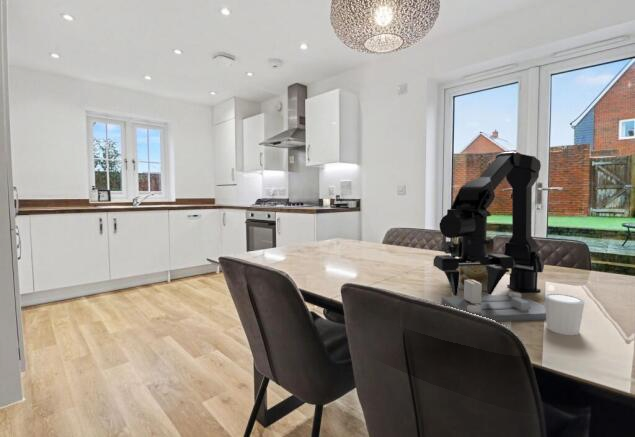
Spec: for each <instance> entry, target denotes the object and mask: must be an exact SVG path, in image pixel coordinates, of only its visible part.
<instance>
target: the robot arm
mask: <svg viewBox="0 0 635 437" xmlns="http://www.w3.org/2000/svg"><path fill="white" fill-rule="evenodd" d="M541 167H542V164H541V161H540V160H539V159H538V158H537V157H536V156H534V155H528V154H523V153H520V152H518V151H506V152H505V151H504V152H500V153H498V154H496V156H495V159H494V160H493V161H492V163H490V165H488V166H487V168H486V169H485V170H484V171H483V172H482V173H481V174H480V176H478V177H477V178H476V179H473V180H470V181H468V182H466V183H465V184H464V185H462V186H461V187H460V188H459V190H458V192H457V194H456V196H455V198H454V200H453V203H452V205H451V207H450V209H447V210H446V213H447V214H445V215H443V217H442V218H441V220H440V222H439V230H440V233H441V234H442V235H443V236H444V237H446V238H448V239H454V238H458V242H457V243H454V241H450V240H449V241H448V240H447V241H444V245H443V250H444V253H445V254H444V255H443V254H442V255H440V254H439V255H435V256H434V258H433V265H432V266H433V267H436V268H437V269H438V270H440V271H442V272H443V273H444V274H445V276H446V279H447V280H448V283H449V286H450V289H451V291H452V295H453V296H454V297H458V292H459V287H458V283H459V271H457V270H456V269H457V268H458V267H459V266H471V265H485V266H486V269H487V272H488V278H487V294H488V296H489V295H492V294H493V293H494V291H495V289H496V287H497V285H498V284H499V283H500V282H501V279H503V278H504V277H505V274H506V273H509V272H510V273H509V284H507V287H508V288H510V289H512V290H514V291H516V292H519V293H534V292H535V293H536V292H537V293H538V292H541V291H542V290H541V289H540V288H538V274H539V273H543V272H544V269H545V262H544V261H543V259H542V256H541V255H540V253H539V245H538V244H537V242H536V240H534V238H533V237H532V207H533V206H532V200H533V199H532V198H533V195H532V194H533V193H532V192H533V190H532V189H533V186H534V185H535V183H536V182H537V181H538V179H539V174H540V171H541ZM504 179H505V180H506V181H507V182H508V184H509V185H510V187H511V190H512V191H511V193H512V194H511V195H512V197H511V198H512V199H511V200H512V201H511V202H512V204H511V206H512V210H511V211H512V214H511V215H512V216H511V217H512V220H511V222H512V223H511V224H512V225H511V226H512V227H511V228H512V229H511V230H512V231H511V232H512V233H511V234H512V235H511V237H510V239H509V240H508V241H507V242H505V245H504V254H503V253H493V254H488V256H486V244H489V240H487V239H486V237H487V228H488V226H487V225H488V222H487V221H488V217H491V216H492V215H491V211H488V208H489V207H490V206H491V204H492V203H493V201H494V200H495V198H496V192H495V191H496V188H498V186H499V185H500V184H501V183H502V182H503V180H504ZM459 257H461V258H459ZM466 261H467V262H466ZM477 261H478V262H477ZM479 261H480V262H479Z"/></svg>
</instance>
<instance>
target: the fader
mask: <svg viewBox="0 0 635 437" xmlns="http://www.w3.org/2000/svg"><path fill="white" fill-rule="evenodd" d="M482 292H483V291H482V284H481V283H479V282H477V281H475V280H471V279H468V280H464V289H463V296H464V299H466V300H467V301H469V302H471V303H481V296H482Z"/></svg>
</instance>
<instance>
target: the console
mask: <svg viewBox="0 0 635 437" xmlns="http://www.w3.org/2000/svg"><path fill="white" fill-rule="evenodd" d="M441 304H443V306H446V305H447V306H450V307H453V308H456V309H459V310H463V311H466V312H469V313H472V314H476V315H479V316H482V317H486V318H489V319H492V320H495V321H497V322H519V321H521V322H522V321H523V322H524V321H541V320H542V321H543V320H545V321H546V308H545V304H544V305H543V304H541V303H539V302H537V301H534V300H533V299H530V298H528V297H526V296H524V295H522V292H519V291H508V294H496V295H494V294H493V295H492V294H491V295H489V294H488V295H481V303H471V302H469V301H467V300H466V299H464V295H463V296H441ZM445 304H446V305H445ZM447 306H446V307H447ZM497 322H496V323H497Z"/></svg>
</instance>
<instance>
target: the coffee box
mask: <svg viewBox="0 0 635 437" xmlns="http://www.w3.org/2000/svg"><path fill="white" fill-rule="evenodd" d="M486 239H487V240H489V244H486V256H488V254H494V238H493V237H492V236H486ZM458 258H461V257H458ZM466 262H467V261H466ZM477 262H478V261H477ZM479 262H480V261H479ZM458 271H459V283H458V290H464V280H468V279H471V280H475V281H477V282H479V283H481V284H482V292H486V291H487V278H488V272H487V269H486V266H485V265H471V266H459V267H458Z"/></svg>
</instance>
